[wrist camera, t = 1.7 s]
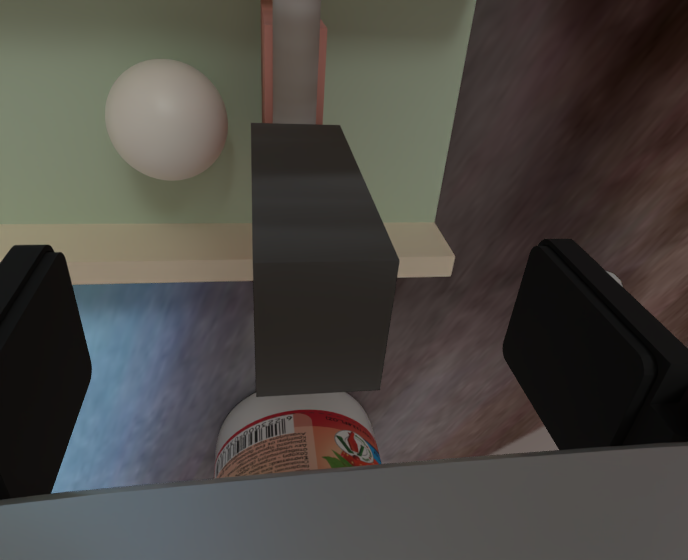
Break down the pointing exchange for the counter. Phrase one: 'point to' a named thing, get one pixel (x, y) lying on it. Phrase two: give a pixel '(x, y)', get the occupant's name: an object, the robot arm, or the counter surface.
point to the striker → (312, 227)
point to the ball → (166, 119)
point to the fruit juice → (294, 435)
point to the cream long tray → (235, 159)
